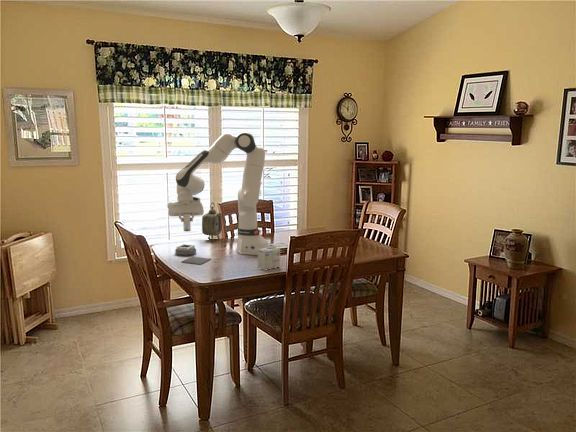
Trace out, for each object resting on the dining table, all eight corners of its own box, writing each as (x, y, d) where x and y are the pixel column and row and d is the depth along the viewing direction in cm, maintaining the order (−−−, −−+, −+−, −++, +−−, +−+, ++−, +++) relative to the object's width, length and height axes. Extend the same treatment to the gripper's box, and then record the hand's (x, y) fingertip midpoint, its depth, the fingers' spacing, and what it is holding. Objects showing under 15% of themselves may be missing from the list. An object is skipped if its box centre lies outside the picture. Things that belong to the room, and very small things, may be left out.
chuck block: (199, 252, 304) (199, 245, 304) (189, 257, 293) (189, 249, 292) (182, 250, 308) (182, 243, 307) (171, 254, 297) (171, 247, 296)
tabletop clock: (214, 242, 331) (214, 204, 327) (201, 241, 333) (201, 203, 329) (221, 237, 345) (221, 201, 341) (209, 236, 347) (209, 200, 343)
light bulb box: (272, 265, 281) (273, 246, 279) (280, 267, 276) (280, 248, 274) (257, 268, 274) (257, 248, 272) (264, 271, 269) (264, 251, 267)
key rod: (191, 230, 298) (191, 213, 296) (188, 231, 294) (187, 214, 292) (185, 229, 299) (185, 213, 297) (182, 231, 295) (181, 214, 294)
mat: (211, 259, 289) (211, 258, 288) (200, 264, 277) (200, 263, 277) (192, 257, 292) (192, 256, 292) (181, 262, 281) (181, 261, 281)
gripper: (167, 199, 297) (168, 218, 290) (202, 198, 303) (204, 217, 295) (167, 205, 302) (168, 224, 295) (201, 204, 308) (204, 223, 300)
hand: (187, 221), depth 295 cm, fingers closed on key rod, 4 cm apart
